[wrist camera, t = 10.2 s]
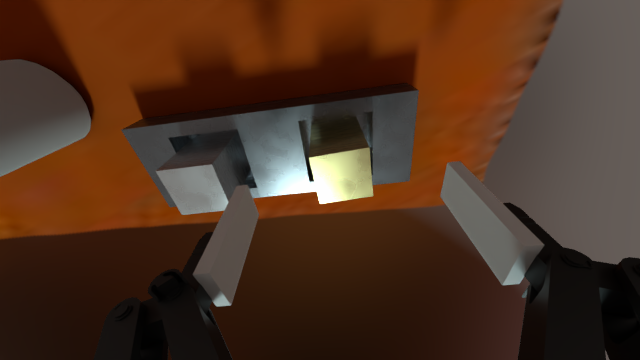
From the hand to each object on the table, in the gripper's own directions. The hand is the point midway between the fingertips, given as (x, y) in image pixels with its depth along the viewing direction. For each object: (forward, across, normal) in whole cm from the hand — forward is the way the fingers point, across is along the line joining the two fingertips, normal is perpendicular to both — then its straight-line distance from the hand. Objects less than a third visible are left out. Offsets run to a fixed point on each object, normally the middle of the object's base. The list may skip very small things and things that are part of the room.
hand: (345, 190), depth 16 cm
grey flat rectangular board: (+10, -6, -1) cm, 12 cm away
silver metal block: (+9, -12, -1) cm, 15 cm away
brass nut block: (+10, 0, -1) cm, 10 cm away
